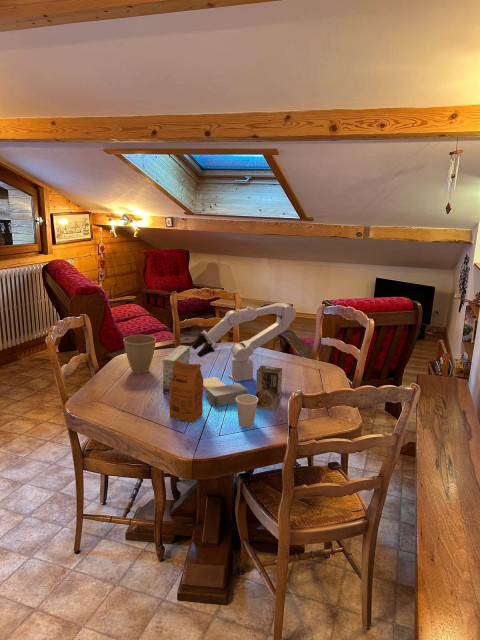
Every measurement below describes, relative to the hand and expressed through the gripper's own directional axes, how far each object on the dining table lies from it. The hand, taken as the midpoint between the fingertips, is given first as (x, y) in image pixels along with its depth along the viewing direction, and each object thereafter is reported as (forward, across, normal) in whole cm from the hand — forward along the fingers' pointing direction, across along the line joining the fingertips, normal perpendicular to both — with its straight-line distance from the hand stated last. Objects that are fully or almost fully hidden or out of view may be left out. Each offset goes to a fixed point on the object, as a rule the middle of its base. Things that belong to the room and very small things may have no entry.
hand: (195, 351), depth 206 cm
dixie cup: (+1, +47, +7) cm, 48 cm away
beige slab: (+2, +25, +11) cm, 28 cm away
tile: (+5, +11, +13) cm, 18 cm away
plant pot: (+27, -18, -1) cm, 32 cm away
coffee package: (+17, +34, -4) cm, 38 cm away
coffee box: (-8, +37, +18) cm, 42 cm away
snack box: (+16, +3, +4) cm, 17 cm away
